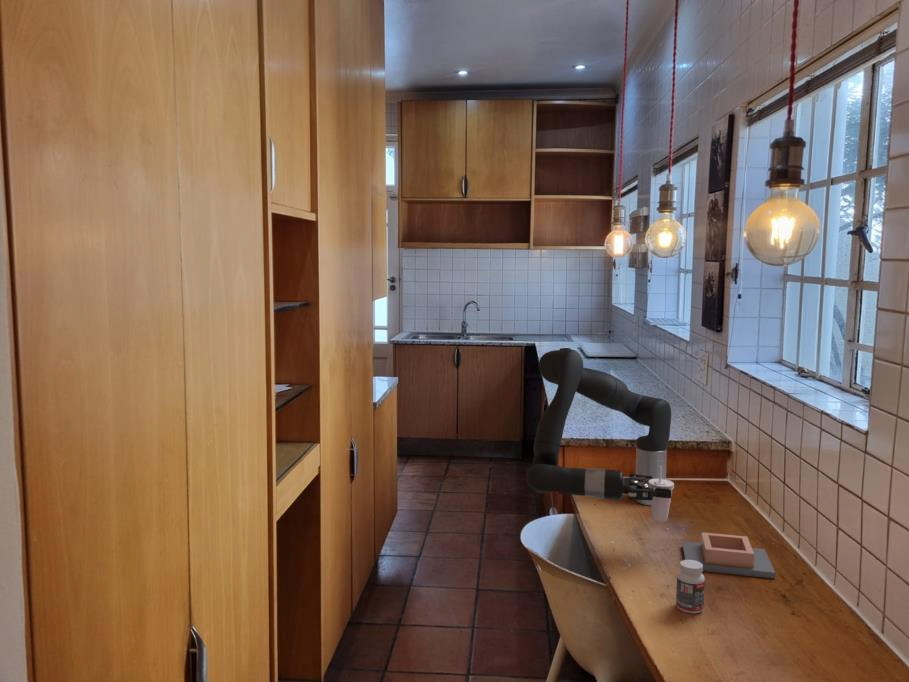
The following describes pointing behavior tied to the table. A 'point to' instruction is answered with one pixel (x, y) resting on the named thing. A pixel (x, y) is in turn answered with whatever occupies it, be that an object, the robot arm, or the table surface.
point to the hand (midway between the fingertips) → (670, 489)
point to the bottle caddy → (729, 555)
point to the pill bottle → (690, 587)
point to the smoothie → (660, 504)
